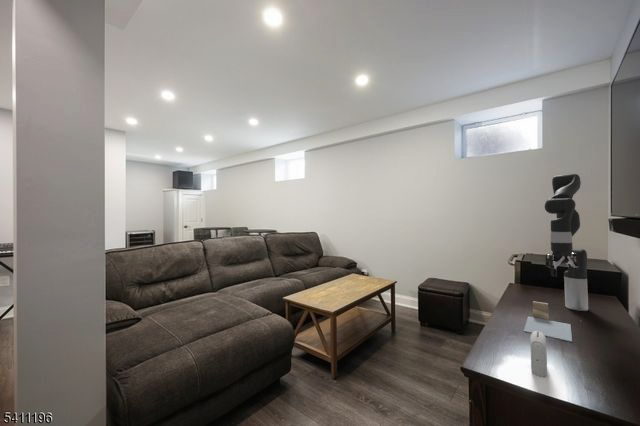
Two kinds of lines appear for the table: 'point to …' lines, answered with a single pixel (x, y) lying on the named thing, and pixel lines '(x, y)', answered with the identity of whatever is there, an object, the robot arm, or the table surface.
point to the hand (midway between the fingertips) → (562, 275)
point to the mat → (549, 328)
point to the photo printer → (538, 353)
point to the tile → (540, 310)
